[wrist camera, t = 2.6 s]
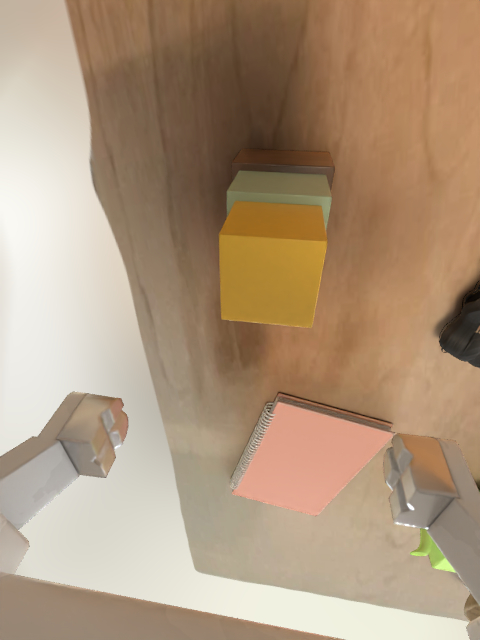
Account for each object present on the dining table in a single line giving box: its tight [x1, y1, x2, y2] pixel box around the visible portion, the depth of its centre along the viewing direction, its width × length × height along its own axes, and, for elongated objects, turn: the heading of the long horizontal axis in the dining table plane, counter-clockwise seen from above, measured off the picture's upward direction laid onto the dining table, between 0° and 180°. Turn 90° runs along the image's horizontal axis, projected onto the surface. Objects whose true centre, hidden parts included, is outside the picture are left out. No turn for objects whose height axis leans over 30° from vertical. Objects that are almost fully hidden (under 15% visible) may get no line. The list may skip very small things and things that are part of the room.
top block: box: [219, 201, 328, 328], centre depth 19 cm, size 5×5×5 cm
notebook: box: [230, 393, 395, 516], centre depth 51 cm, size 27×17×2 cm, turn 166°
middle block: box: [227, 171, 332, 229], centre depth 23 cm, size 6×6×5 cm
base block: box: [232, 149, 335, 192], centre depth 26 cm, size 7×7×5 cm
